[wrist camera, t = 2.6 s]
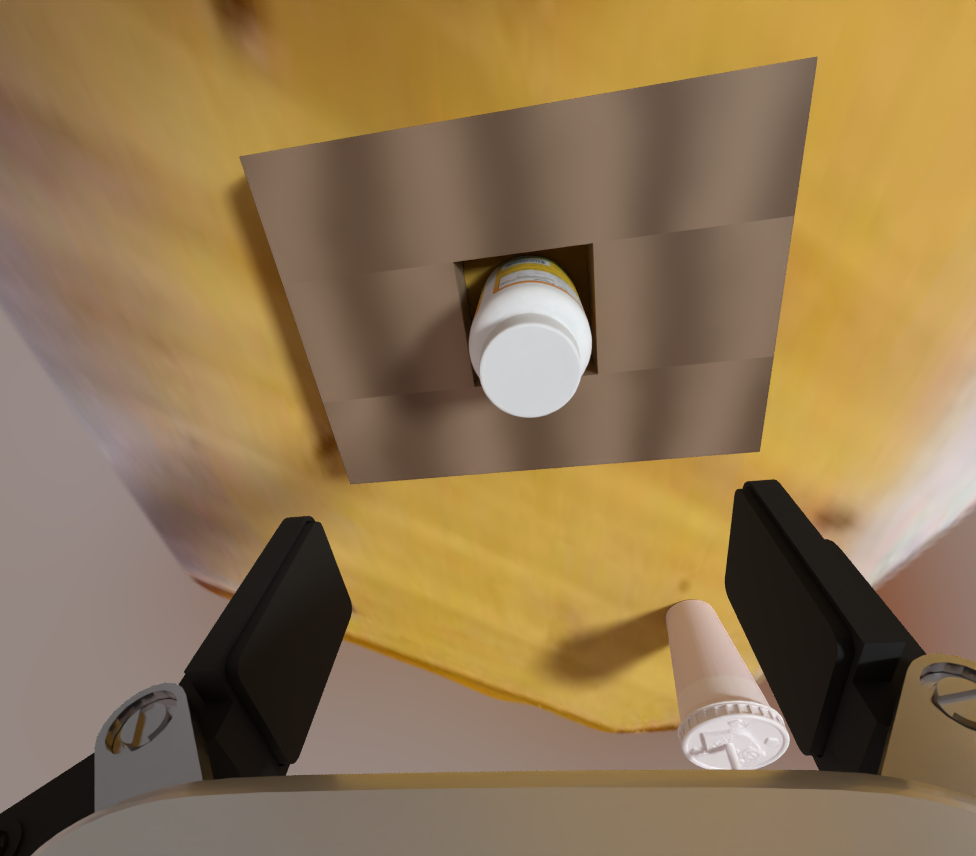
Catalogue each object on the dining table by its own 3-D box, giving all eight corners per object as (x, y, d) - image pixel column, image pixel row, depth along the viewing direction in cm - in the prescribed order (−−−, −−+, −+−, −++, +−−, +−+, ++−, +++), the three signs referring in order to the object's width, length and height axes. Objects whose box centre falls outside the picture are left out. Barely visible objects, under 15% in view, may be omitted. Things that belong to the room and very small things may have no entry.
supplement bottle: (528, 367, 29) (529, 457, 21) (460, 305, 28) (431, 375, 19) (598, 302, 27) (630, 373, 19) (528, 230, 26) (530, 272, 17)
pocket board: (782, 67, 22) (817, 56, 19) (739, 425, 30) (759, 451, 28) (269, 155, 25) (239, 156, 22) (364, 457, 33) (350, 484, 31)
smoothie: (681, 575, 37) (759, 788, 25) (751, 606, 38) (858, 824, 26) (631, 625, 40) (678, 836, 28) (697, 652, 41) (770, 867, 29)
